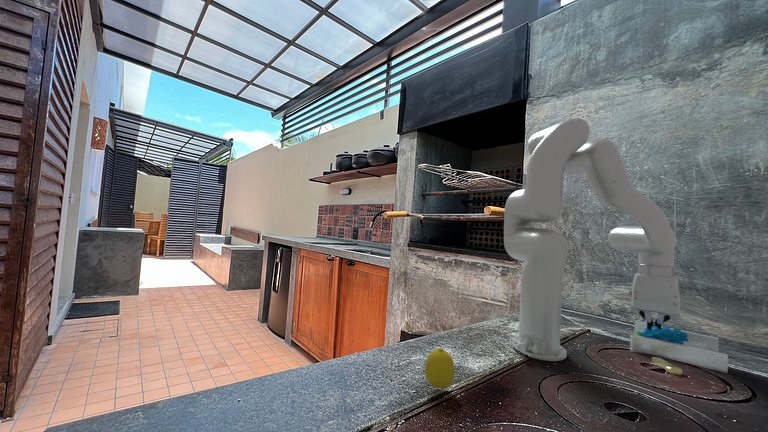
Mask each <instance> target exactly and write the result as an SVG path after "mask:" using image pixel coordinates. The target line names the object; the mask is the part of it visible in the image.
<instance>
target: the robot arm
mask: <svg viewBox="0 0 768 432" xmlns="http://www.w3.org/2000/svg"><path fill="white" fill-rule="evenodd" d="M590 131H591V129H590V125H589V123H588V122H587V121H586V120H584V119H583V118H578V117H577V118H569V119H567V120H563V121H561V122H558V123H556V124H554V125H551V126H549V127H547V128H543V129H541V130H539V131H537V132H535V133H533V134H532V135H531V136H530V138H529V139H528V142H527V151H528V153H529V155H530V158H529V160H528V164H527V169H526V181H525V182H526V183H525V187H524V188H522V189H518V190H515V191H514V192H512V193H511V194H510V195H509V196H508V198H507V199H506V202H505V205H504V213H503V214H504V216H503V218H504V220H503V244H504V249H505V251H506V253H507V254H508V255H509V257H511V258H513V259H514V260H517V261H522V262H526V264H525V266H524V268H523V271H522V274H521V279H520V295H519V296H520V297H519V298H520V300H519V318H518V319H519V320H518V321H519V322H518V325H519V326H518V337H515V338H513V339H512V340H511V347H512V348H513V347H514V348H515V349H516V350H518V351H520V352H522V353H525V354H527V355H528V356H527V357H528V358H532V359H536V360H540V361H546V362H559V361H563V360H565V359H566V358H567V356H568V354H567V353H568V352H567V350H566V349H565V348H564V347H562V346H561V330H562V328H561V323H562V322H561V320H562V304H563V303H562V301H563V300H562V299H563V297H562V296H563V280H564V279H563V277H564V276H563V275H564V270H565V266H566V261H567V258H568V254H569V244H568V241H567V239H566V238H565V236H564V235H563V234H562V233H561V232H559V231H557V230H556V229H551V228H545V227H536V224H538V223H539V224H543V223H544V224H545V223H552V222H555V221H557V220H559V218H560V217H561V215H562V212H563V201H564V197H563V196H564V174H568V175H579V174H585V177H586V178H587V180H588V182H589V185H590V187H591V189H592V192H593V194H594V196H595V198H596V200H597V201H598V202H600V203H601V204H604V205H606V206H609V207H611V208H614V209H617V210H619V211H620V212H624V213H626V214H627V215H629V216H631V218H633V219H634V220H635V221H636V222H637V223H638V225H622V226H621V225H619V226H617V227H615V228H613V229H612V230H611V231H610V232H609V233H608V237H607V240H608V244H609V245H610V246H611V248H613V249H614V250H616V251H619V252H622V253H629V254H630V253H631V254H638V266H637V267H638V269H637V270H638V271H637V272H638V273H637V272H636V273H635V274H634V275H633V280H632V287H631V305H630V308H629V311H630V312H632V313H635V314H638V315H639V316H641V317H642V318H643V319H644V320H645V321H646V323H647V329H649V330H652V328H651V327H654V326H656V327H658V328H659V329H661V326H662V324H664V323H666V322H668V321H670V320H671V321H672V320H673V321H679V320H681V319H682V317H681V314H680V310H681V304H680V303H681V302H680V301H681V300H680V297H681V296H680V285H679V281H678V278H677V277H675V276H676V275H679V276H680V275H682V270H681V269H678V268H676V267H675V245H676V243H675V242H676V235H675V231H674V230H673V228H672V227H671V225H670V222H669V220H668V218H667V216H666V214H665V212H664V211H663V210H662V208H660V206H658V205H657V204H656V203H655V202H654V201H652V200H651V199H650V198H649V197H647V196H646V195H644V194H643V193H641V192H640V191H638V190H637V189H636V188H635V187H634V186H633V184H632V182H631V179H630V177H629V174H628V172H627V169H626V168H625V164H624V162H623V160H622V157H621V155H620V153H619V151H618V149H617V147H616V144H615V143H614V142H613V141H611V140H610V139H607V138H606V139H605V138H599V139H594V140H589V141H588V139H589V137H590V134H591V133H590ZM652 313H657V317H656V319H653V318H652ZM654 320H655V321H654ZM514 348H513V349H514ZM515 349H514V350H515ZM516 350H515V351H516ZM518 351H517V352H518ZM520 352H519V353H520Z"/></svg>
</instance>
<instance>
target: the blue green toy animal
mask: <svg viewBox="0 0 768 432" xmlns="http://www.w3.org/2000/svg"><path fill="white" fill-rule="evenodd" d="M662 327H663V330H661V329H659V328H658V327H656V326H654V327H651V328H652V330H649V329H644V330H643V331H644V333H642V332H638V331H636V332H635V334H634V335H635V336H643V337H648V338H649V337H650V338H655V339H660V340H664V341H669V342H673V343H678V344H682V345H683V344H684V342H683V341H688V338H687V337H688V334H687V333H686V332H681V330H682V329H681V328H677V327H675V328H673V329H674V331H670V326H669V325H668V326H667V325H666V326H664V325H663V326H662ZM679 333H680V334H679Z"/></svg>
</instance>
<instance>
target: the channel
mask: <svg viewBox="0 0 768 432" xmlns="http://www.w3.org/2000/svg"><path fill="white" fill-rule="evenodd" d="M633 327H634V329H633V333H634V334H630V340H629V341H630V342H629V351H631V352H632V353H638V354H639V353H640V354H647V355H653V356H656V357H659V358H665V359H668V360H672V361H677V362H681V363H686V364H689V365H692V366H697V367H700V368H705V369H708V370H712V371H717V372H721V373H725V374H729V373H728V372H729V371H728V370H729V354H727V353H722V352H719V351H720V349H719V347H720V346H719V345H720V339H719V337H716V336H712V335H711V336H710V335H707V334H702V333H698V332H697V333H696V332H690V331H688V330H687V331H685V330H682V329H680V330H681V332H686V333H687V334H688V337H687V338H688V341H683V342H684V344H683V345H682V344H678V343H673V342H669V341H664V340H660V339H655V338H650V337H649V338H648V337H643V336H636V335H635V332H636V331H638V332H642V333H644V331H643V330H644V329H647V322H644V321H641V320H637V319H636V320H634V326H633ZM663 327H664V326H662V325H661V330H663ZM669 328H670V327H669ZM670 331H674V328H670ZM679 334H680V333H679Z"/></svg>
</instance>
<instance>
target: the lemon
mask: <svg viewBox="0 0 768 432" xmlns="http://www.w3.org/2000/svg"><path fill="white" fill-rule="evenodd" d="M424 366H425V367H424V370H425V371H424V372H425V376H426V380H427V382H428V383H429V384H430V385H431V387H433V388H435V387H436V388H441V389H442V390H443V389H444V388H445V389H447V388H448V387H450V385H452V383H453V381H454V379H455V374H456V371H455V370H456V369H455V363H454V359H453V357H452V356H451V354H450V353H449V352H447V350H445V349H444V348H442V347H438V348H437V349H434V350H432V351H430V353H429V354H428V355H427V358H426V361H425V365H424ZM436 388H435V389H436Z"/></svg>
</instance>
